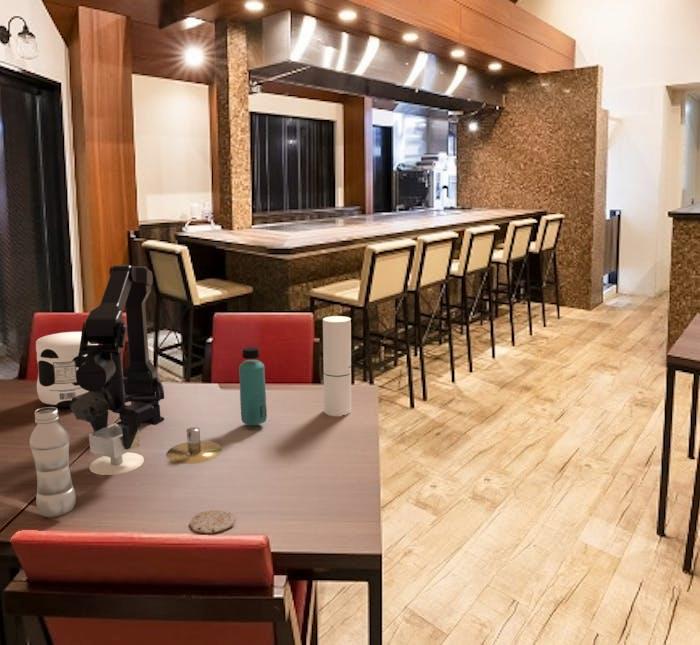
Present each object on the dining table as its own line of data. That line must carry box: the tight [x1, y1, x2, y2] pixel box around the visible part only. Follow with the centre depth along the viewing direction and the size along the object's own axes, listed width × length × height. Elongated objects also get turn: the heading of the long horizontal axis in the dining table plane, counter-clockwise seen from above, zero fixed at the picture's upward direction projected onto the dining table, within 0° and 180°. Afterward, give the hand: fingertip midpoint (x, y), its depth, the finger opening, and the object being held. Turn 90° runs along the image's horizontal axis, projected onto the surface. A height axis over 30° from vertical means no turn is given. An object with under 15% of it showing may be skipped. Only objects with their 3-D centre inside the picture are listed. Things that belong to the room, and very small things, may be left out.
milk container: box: [35, 331, 99, 408], centre depth 175 cm, size 17×17×18 cm
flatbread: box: [189, 509, 236, 534], centre depth 114 cm, size 8×8×1 cm
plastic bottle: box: [29, 406, 77, 518], centre depth 115 cm, size 6×7×20 cm
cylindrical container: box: [322, 315, 352, 417], centre depth 165 cm, size 7×7×25 cm
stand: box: [88, 451, 145, 476], centre depth 135 cm, size 11×11×6 cm
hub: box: [166, 426, 223, 465], centre depth 141 cm, size 12×12×6 cm
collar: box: [88, 422, 141, 459], centre depth 134 cm, size 7×7×4 cm
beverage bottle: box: [238, 346, 268, 426], centre depth 156 cm, size 6×7×20 cm
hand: (115, 445), depth 135 cm, fingers closed on collar, 7 cm apart
